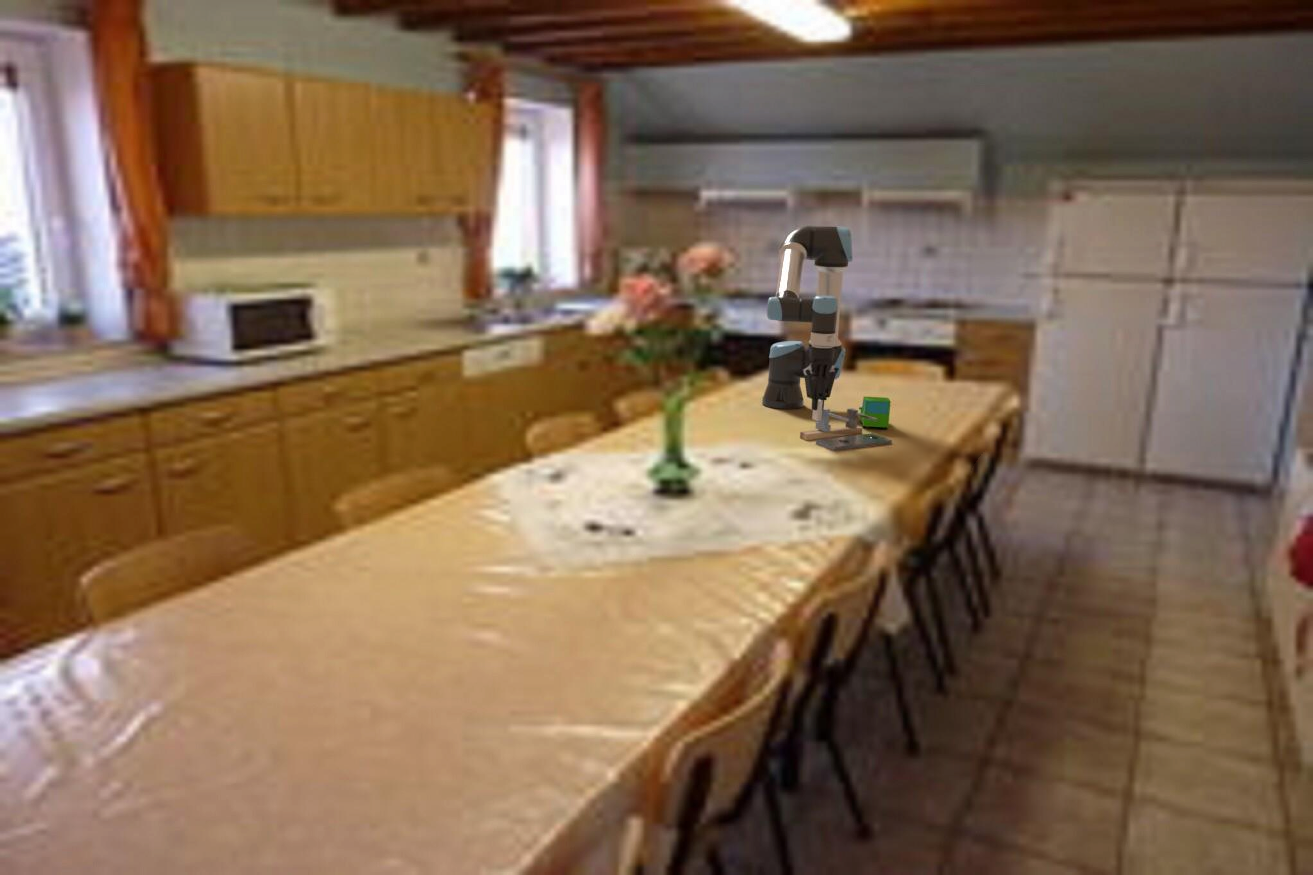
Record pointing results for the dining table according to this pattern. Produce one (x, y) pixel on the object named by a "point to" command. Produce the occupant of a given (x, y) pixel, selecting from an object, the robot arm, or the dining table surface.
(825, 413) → the grey hammer
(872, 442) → the hole plate
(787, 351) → the robot arm
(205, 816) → the dining table surface
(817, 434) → the rail
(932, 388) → the dining table surface
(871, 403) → the green box
